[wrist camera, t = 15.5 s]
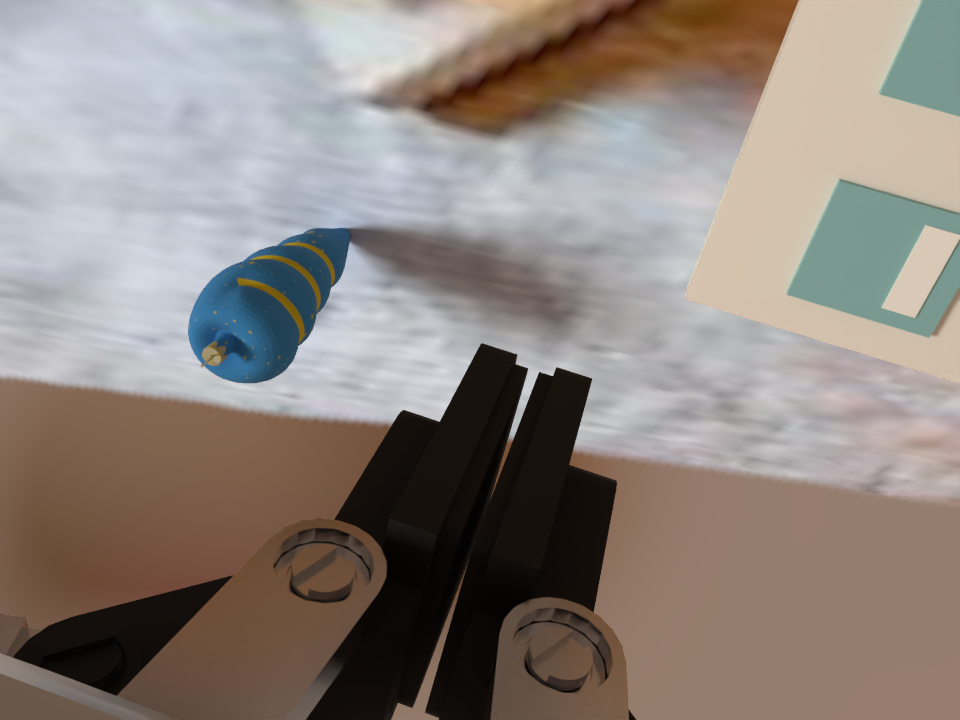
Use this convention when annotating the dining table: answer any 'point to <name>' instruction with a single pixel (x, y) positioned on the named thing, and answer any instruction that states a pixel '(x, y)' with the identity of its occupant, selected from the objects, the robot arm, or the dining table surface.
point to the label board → (850, 187)
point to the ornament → (266, 306)
